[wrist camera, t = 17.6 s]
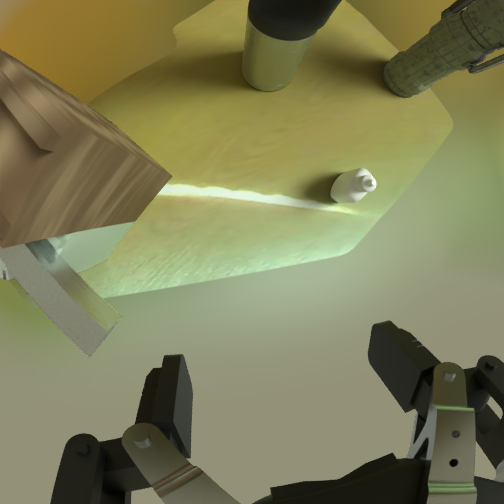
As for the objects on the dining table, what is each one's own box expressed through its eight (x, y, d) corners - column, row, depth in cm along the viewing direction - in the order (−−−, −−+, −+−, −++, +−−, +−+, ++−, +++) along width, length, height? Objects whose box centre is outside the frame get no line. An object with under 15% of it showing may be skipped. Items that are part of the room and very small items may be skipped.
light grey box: (53, 203, 43) (-30, 207, 21) (78, 165, 43) (-3, 147, 21) (106, 259, 46) (32, 296, 24) (135, 221, 45) (65, 234, 23)
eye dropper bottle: (359, 192, 47) (394, 189, 36) (333, 205, 47) (364, 205, 36) (348, 169, 47) (382, 160, 35) (323, 182, 47) (351, 175, 35)
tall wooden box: (78, 165, 43) (-66, 137, 10) (112, 122, 42) (-12, 41, 9) (135, 221, 45) (-11, 252, 12) (172, 176, 45) (60, 119, 12)
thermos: (401, 55, 43) (503, -17, 9) (424, 102, 45) (547, 52, 11) (371, 57, 43) (475, -33, 9) (395, 107, 45) (528, 44, 11)
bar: (-19, 192, 22) (-39, 193, 18) (-7, 167, 22) (-27, 165, 18) (104, 340, 27) (89, 357, 23) (121, 316, 26) (107, 332, 22)
